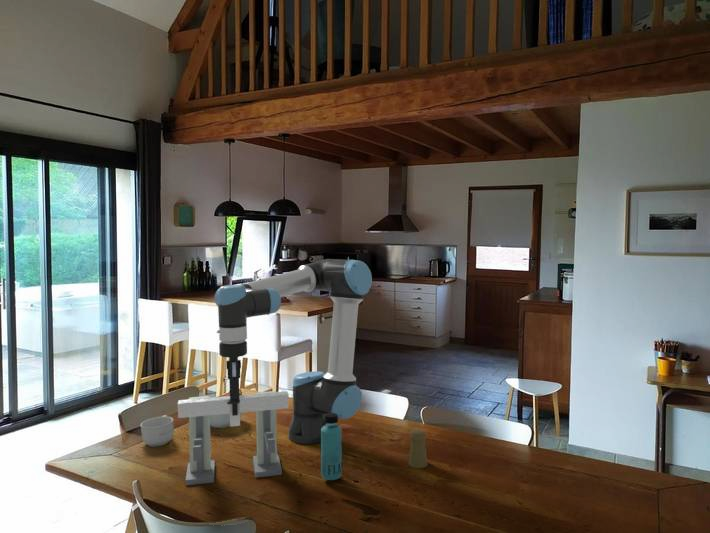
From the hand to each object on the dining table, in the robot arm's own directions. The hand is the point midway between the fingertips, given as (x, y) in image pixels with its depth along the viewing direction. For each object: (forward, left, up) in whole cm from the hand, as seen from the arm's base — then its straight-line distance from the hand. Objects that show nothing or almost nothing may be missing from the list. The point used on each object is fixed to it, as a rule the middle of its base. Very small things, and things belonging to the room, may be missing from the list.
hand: (235, 423), depth 147 cm
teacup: (+25, -44, -20) cm, 55 cm away
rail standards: (0, -8, -20) cm, 22 cm away
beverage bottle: (-28, -1, -20) cm, 34 cm away
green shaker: (-57, -5, -20) cm, 61 cm away
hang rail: (0, 0, +3) cm, 3 cm away
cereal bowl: (+4, -56, -20) cm, 60 cm away
